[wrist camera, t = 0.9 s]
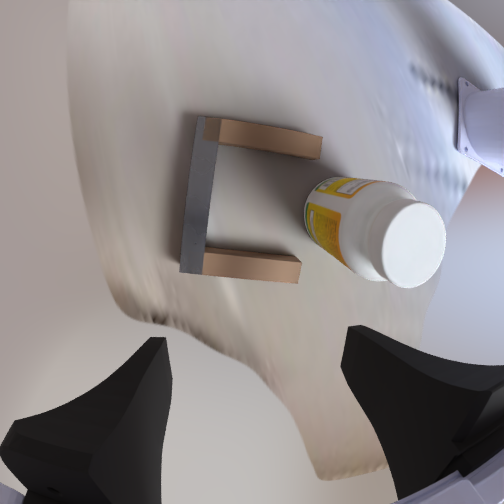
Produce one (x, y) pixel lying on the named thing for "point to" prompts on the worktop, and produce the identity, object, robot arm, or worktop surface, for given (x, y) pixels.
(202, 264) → the walnut dock
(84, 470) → the robot arm
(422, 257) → the supplement bottle
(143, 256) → the worktop surface
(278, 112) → the worktop surface
